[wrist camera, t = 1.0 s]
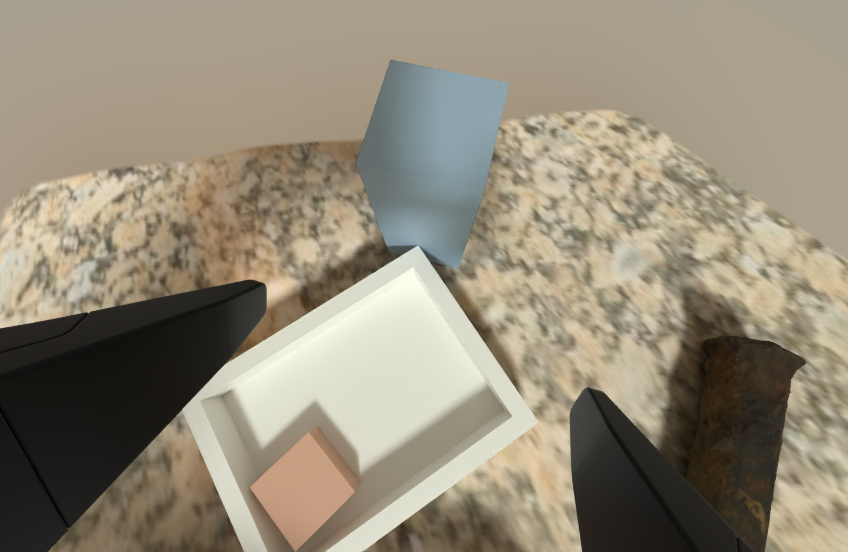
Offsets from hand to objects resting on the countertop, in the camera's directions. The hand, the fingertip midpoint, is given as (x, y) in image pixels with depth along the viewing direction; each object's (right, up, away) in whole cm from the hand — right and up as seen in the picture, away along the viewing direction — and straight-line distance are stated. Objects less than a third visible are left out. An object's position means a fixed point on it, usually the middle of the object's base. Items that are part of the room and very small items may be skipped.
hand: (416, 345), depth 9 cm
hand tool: (+17, -11, +11) cm, 23 cm away
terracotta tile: (-6, -10, +10) cm, 15 cm away
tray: (-4, -6, +12) cm, 14 cm away
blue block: (+1, +5, +15) cm, 16 cm away
